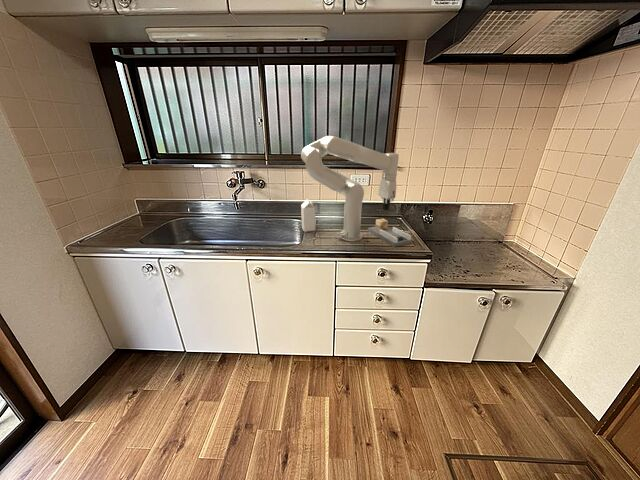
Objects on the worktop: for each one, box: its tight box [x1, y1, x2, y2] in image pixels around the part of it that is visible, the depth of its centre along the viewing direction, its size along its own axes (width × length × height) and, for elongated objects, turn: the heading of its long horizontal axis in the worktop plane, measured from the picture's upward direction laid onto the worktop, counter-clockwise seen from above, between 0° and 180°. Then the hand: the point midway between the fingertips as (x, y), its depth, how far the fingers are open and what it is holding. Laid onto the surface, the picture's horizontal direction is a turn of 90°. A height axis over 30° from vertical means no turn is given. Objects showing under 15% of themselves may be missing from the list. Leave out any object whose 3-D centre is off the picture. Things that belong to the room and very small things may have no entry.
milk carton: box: [300, 198, 316, 233], centre depth 155 cm, size 7×7×19 cm
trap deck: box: [367, 226, 413, 248], centre depth 147 cm, size 12×25×4 cm, turn 24°
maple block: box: [374, 218, 389, 230], centre depth 154 cm, size 5×5×5 cm
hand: (385, 209), depth 146 cm, fingers closed
